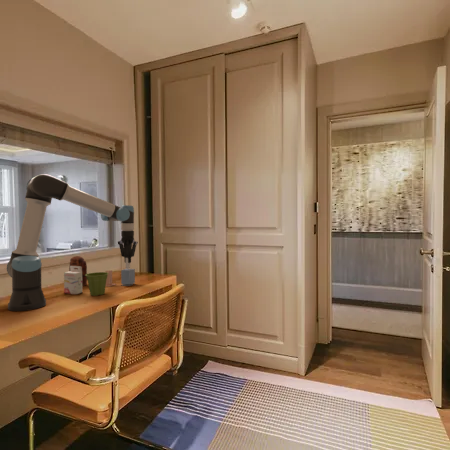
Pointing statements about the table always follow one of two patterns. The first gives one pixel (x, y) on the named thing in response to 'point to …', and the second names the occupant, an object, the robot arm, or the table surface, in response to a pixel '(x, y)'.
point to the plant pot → (97, 282)
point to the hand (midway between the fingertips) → (127, 268)
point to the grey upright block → (127, 276)
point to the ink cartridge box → (73, 280)
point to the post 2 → (127, 284)
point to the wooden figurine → (80, 262)
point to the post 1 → (109, 278)
